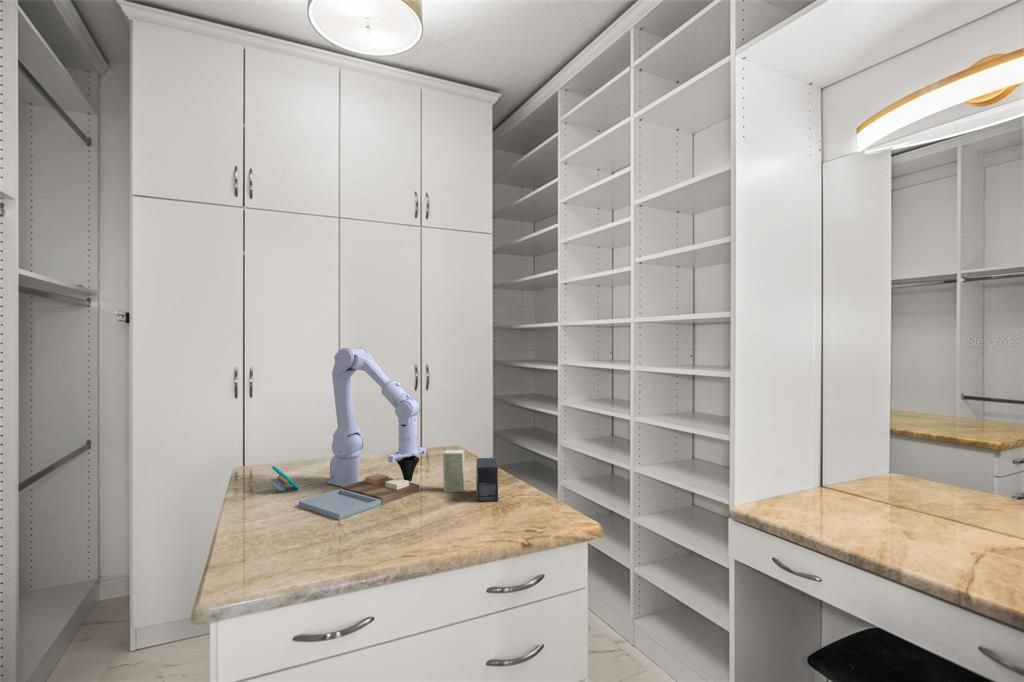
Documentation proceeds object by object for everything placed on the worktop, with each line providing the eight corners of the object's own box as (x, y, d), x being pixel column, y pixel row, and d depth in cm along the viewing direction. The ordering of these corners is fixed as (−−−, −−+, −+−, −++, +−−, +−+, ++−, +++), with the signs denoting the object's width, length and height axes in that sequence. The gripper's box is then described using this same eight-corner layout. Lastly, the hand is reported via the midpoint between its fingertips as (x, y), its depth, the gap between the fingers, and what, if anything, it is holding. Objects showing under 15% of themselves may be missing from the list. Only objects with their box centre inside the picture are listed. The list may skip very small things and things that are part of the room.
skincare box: (465, 488, 159) (465, 449, 159) (463, 492, 154) (463, 453, 154) (445, 487, 159) (445, 449, 159) (442, 492, 155) (442, 452, 155)
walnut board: (341, 493, 153) (341, 486, 153) (379, 481, 166) (379, 475, 165) (382, 504, 143) (382, 497, 143) (419, 491, 155) (419, 484, 155)
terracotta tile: (365, 481, 158) (365, 477, 158) (377, 478, 162) (377, 473, 162) (376, 484, 155) (376, 479, 155) (388, 480, 160) (388, 476, 159)
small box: (475, 491, 156) (475, 457, 156) (496, 490, 157) (497, 457, 156) (476, 502, 145) (476, 466, 145) (498, 502, 146) (499, 466, 146)
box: (298, 506, 141) (298, 501, 141) (340, 493, 153) (340, 488, 153) (339, 520, 131) (339, 514, 131) (381, 505, 143) (381, 499, 143)
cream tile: (385, 486, 153) (385, 482, 153) (397, 482, 157) (397, 478, 157) (396, 489, 150) (396, 484, 150) (409, 485, 154) (409, 480, 154)
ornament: (262, 477, 158) (261, 475, 149) (273, 465, 160) (273, 463, 151) (288, 499, 159) (289, 499, 150) (299, 487, 161) (300, 487, 152)
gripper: (399, 443, 149) (399, 488, 149) (433, 435, 161) (433, 477, 161) (383, 440, 153) (383, 484, 153) (417, 432, 165) (417, 473, 165)
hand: (407, 480), depth 158 cm, fingers closed
